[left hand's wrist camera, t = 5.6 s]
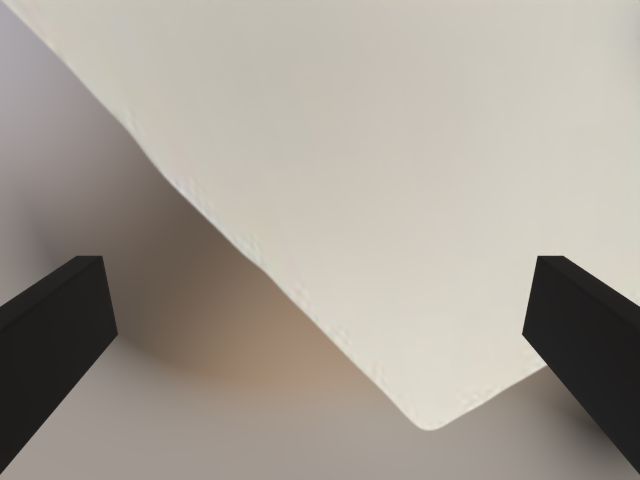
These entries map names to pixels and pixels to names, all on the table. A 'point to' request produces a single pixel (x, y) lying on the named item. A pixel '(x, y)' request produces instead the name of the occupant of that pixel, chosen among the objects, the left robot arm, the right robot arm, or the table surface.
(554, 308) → the left robot arm
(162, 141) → the table surface
